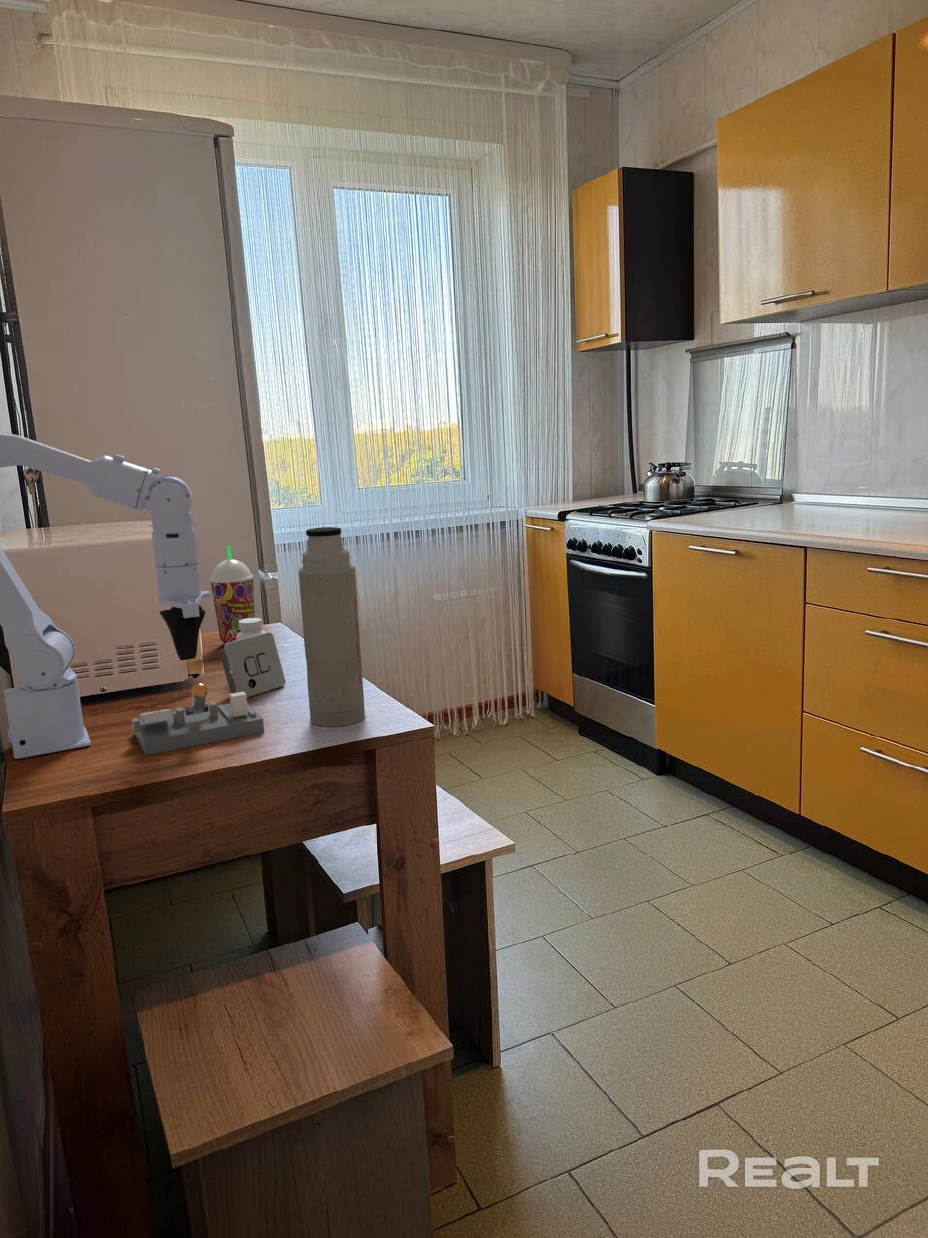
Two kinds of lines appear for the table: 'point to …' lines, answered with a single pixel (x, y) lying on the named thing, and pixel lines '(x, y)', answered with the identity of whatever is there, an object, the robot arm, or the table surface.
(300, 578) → the thermos bottle
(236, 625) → the smoothie
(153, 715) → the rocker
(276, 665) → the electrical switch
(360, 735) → the table surface
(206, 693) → the lever
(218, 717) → the panel
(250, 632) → the supplement bottle
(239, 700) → the off-white rectangular block
